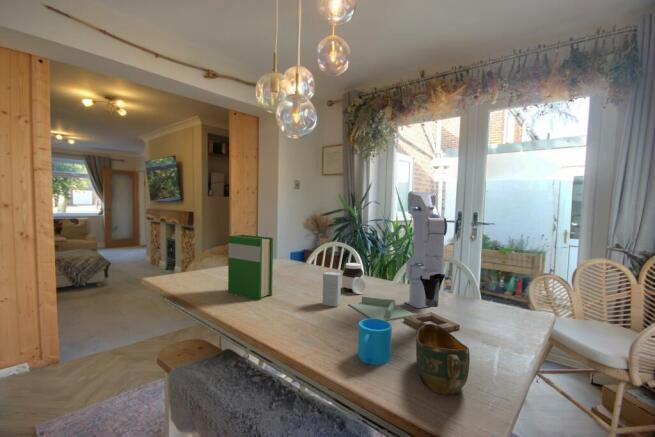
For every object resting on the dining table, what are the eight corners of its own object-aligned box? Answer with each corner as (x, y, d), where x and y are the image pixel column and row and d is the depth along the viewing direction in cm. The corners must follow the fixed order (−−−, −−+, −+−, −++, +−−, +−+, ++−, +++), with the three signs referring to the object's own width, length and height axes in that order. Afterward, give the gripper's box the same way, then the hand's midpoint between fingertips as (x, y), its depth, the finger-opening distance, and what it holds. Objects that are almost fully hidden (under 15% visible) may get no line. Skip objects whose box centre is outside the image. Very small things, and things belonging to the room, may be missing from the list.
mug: (365, 345, 82) (366, 316, 82) (395, 354, 78) (396, 322, 78) (345, 365, 72) (346, 331, 72) (377, 376, 68) (378, 340, 67)
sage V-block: (382, 300, 123) (383, 292, 123) (415, 315, 106) (415, 307, 106) (348, 304, 116) (348, 296, 116) (376, 322, 99) (377, 313, 99)
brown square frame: (431, 316, 106) (431, 312, 106) (459, 329, 95) (459, 324, 95) (403, 321, 101) (404, 316, 101) (430, 335, 90) (430, 330, 90)
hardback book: (272, 295, 125) (273, 237, 124) (259, 300, 119) (260, 239, 118) (241, 288, 134) (242, 234, 133) (228, 292, 128) (228, 235, 127)
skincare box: (340, 303, 117) (341, 273, 116) (337, 307, 113) (338, 275, 112) (325, 301, 119) (326, 271, 118) (321, 305, 115) (322, 273, 114)
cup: (393, 389, 63) (395, 341, 62) (422, 353, 79) (424, 314, 79) (460, 415, 56) (463, 361, 55) (476, 369, 72) (479, 327, 72)
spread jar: (351, 286, 144) (351, 261, 143) (372, 290, 137) (373, 264, 136) (336, 291, 134) (337, 265, 133) (359, 296, 127) (360, 269, 127)
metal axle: (431, 302, 100) (432, 278, 100) (441, 306, 97) (442, 281, 96) (422, 303, 98) (423, 279, 98) (431, 307, 95) (432, 282, 95)
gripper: (428, 251, 105) (426, 290, 106) (413, 256, 93) (411, 300, 94) (449, 253, 101) (448, 294, 101) (436, 259, 89) (434, 305, 90)
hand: (432, 297), depth 97 cm, fingers closed on metal axle, 4 cm apart
